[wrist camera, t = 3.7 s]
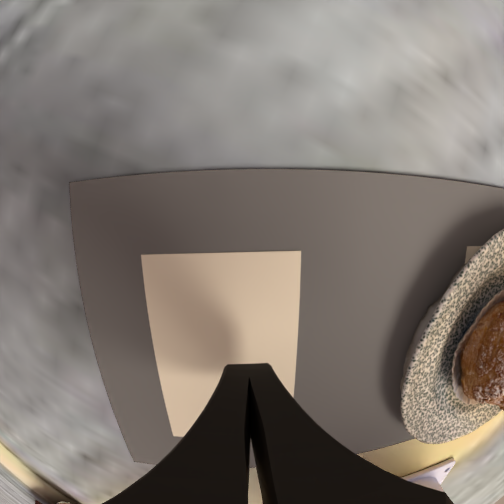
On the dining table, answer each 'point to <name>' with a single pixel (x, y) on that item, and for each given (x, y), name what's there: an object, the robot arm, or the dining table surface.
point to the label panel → (267, 289)
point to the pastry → (458, 353)
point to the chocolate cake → (57, 503)
